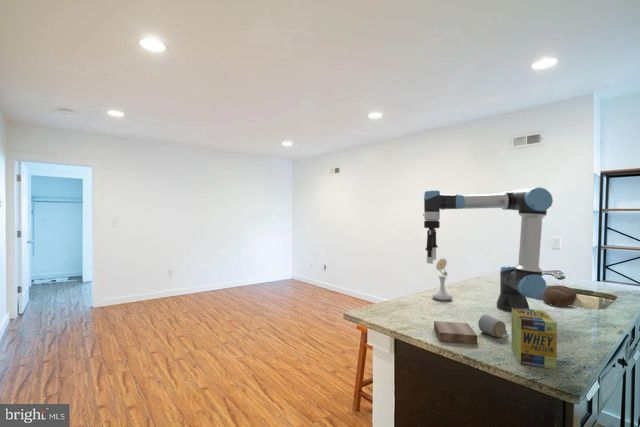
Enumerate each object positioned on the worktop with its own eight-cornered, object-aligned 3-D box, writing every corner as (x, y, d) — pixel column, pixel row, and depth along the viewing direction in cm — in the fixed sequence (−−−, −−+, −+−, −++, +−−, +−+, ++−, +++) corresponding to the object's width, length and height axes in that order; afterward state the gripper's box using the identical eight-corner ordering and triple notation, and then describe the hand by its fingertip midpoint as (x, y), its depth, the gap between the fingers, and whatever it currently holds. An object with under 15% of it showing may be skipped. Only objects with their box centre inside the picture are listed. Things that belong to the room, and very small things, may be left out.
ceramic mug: (494, 339, 128) (495, 320, 128) (477, 332, 136) (478, 314, 136) (512, 336, 132) (513, 318, 132) (495, 329, 140) (495, 312, 140)
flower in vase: (430, 296, 196) (430, 256, 196) (449, 297, 194) (449, 256, 194) (435, 302, 183) (435, 259, 183) (455, 303, 181) (456, 259, 181)
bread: (538, 304, 181) (538, 289, 181) (548, 293, 207) (548, 280, 207) (573, 310, 170) (573, 294, 170) (578, 297, 197) (578, 284, 197)
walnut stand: (467, 331, 137) (467, 323, 137) (477, 344, 123) (477, 335, 123) (434, 328, 140) (434, 320, 140) (439, 341, 126) (439, 332, 126)
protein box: (520, 364, 107) (520, 319, 107) (510, 346, 122) (511, 306, 122) (557, 370, 103) (557, 323, 103) (543, 351, 118) (543, 309, 118)
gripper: (427, 219, 175) (427, 258, 175) (420, 220, 153) (420, 264, 152) (442, 220, 171) (441, 259, 171) (436, 220, 149) (436, 265, 149)
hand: (431, 261), depth 162 cm, fingers open, 13 cm apart
